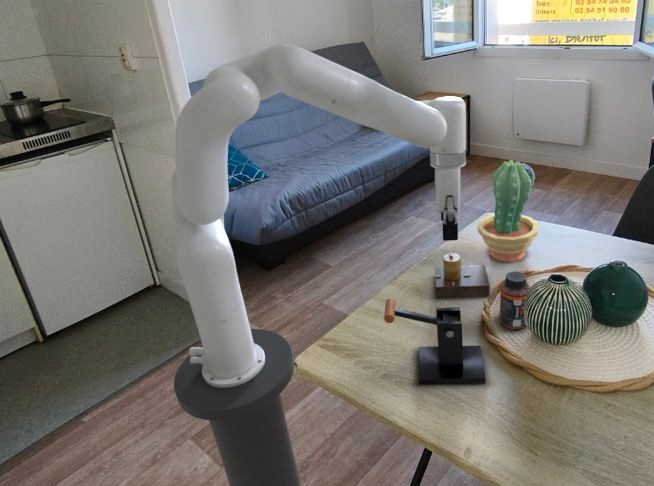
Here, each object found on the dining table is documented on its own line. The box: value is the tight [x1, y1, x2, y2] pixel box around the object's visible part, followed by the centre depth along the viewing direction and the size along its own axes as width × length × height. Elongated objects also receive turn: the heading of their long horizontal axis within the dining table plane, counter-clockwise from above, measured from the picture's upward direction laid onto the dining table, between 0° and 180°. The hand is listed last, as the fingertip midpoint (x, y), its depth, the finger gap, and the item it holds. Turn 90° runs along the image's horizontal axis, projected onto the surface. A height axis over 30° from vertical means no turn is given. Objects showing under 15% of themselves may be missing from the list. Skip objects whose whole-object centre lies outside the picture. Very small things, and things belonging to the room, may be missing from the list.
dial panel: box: [434, 264, 490, 299], centre depth 118 cm, size 12×9×3 cm
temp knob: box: [442, 251, 462, 280], centre depth 117 cm, size 4×4×5 cm
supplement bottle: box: [499, 270, 532, 330], centre depth 103 cm, size 6×6×11 cm
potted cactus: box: [476, 159, 540, 263], centre depth 126 cm, size 15×15×25 cm
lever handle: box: [383, 298, 458, 326], centre depth 91 cm, size 13×5×2 cm, turn 86°
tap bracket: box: [418, 306, 487, 385], centre depth 93 cm, size 12×9×12 cm
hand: (449, 229), depth 113 cm, fingers open, 9 cm apart
